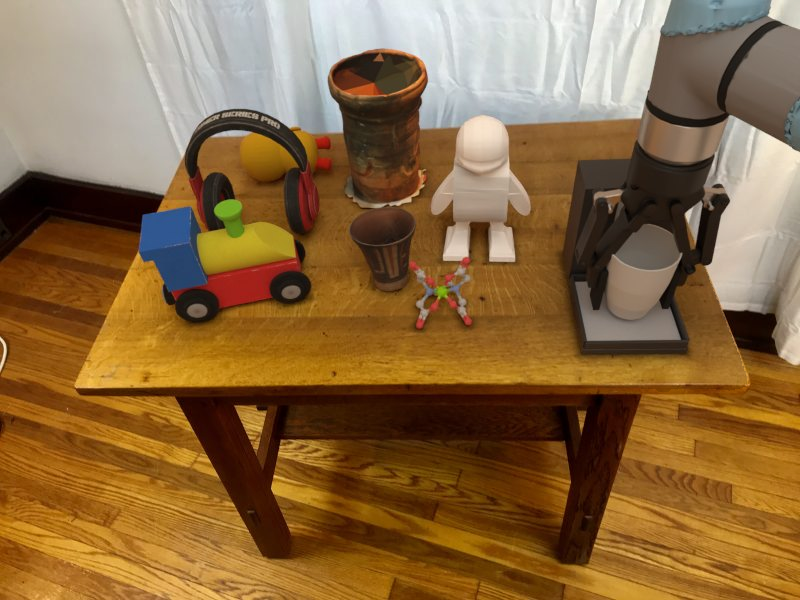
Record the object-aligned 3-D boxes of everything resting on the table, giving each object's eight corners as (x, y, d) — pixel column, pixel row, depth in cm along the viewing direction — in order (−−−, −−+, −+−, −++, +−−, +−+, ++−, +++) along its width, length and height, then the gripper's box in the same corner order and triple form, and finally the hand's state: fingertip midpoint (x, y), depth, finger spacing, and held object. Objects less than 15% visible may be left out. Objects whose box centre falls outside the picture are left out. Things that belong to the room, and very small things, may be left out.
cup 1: (389, 246, 92) (383, 191, 85) (432, 274, 87) (430, 219, 80) (344, 277, 88) (333, 223, 81) (387, 309, 84) (380, 255, 76)
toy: (332, 135, 108) (246, 139, 108) (327, 116, 100) (233, 121, 99) (334, 186, 107) (247, 190, 107) (329, 171, 99) (235, 175, 99)
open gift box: (686, 354, 75) (728, 258, 64) (581, 355, 76) (604, 261, 64) (651, 252, 87) (681, 156, 76) (562, 254, 88) (577, 160, 77)
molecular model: (411, 290, 86) (407, 251, 80) (468, 286, 85) (469, 246, 80) (413, 330, 81) (410, 291, 75) (474, 326, 80) (475, 286, 75)
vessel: (433, 210, 97) (429, 92, 82) (342, 215, 98) (322, 99, 83) (430, 157, 107) (426, 43, 92) (348, 161, 107) (330, 49, 93)
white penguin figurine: (430, 260, 89) (424, 140, 75) (434, 220, 95) (429, 101, 81) (528, 262, 88) (542, 139, 73) (525, 221, 94) (538, 100, 79)
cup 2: (675, 316, 76) (698, 257, 69) (618, 338, 75) (636, 280, 67) (634, 274, 82) (652, 215, 74) (581, 293, 80) (593, 235, 73)
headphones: (324, 205, 100) (301, 90, 85) (319, 247, 93) (293, 130, 78) (217, 211, 101) (176, 98, 86) (204, 253, 94) (157, 138, 79)
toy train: (171, 286, 89) (130, 204, 78) (308, 259, 91) (287, 175, 80) (168, 332, 83) (124, 251, 72) (315, 302, 85) (293, 218, 74)
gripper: (770, 120, 63) (704, 278, 79) (563, 127, 64) (541, 281, 81) (799, 164, 57) (722, 323, 74) (574, 171, 59) (548, 325, 76)
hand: (628, 301), depth 78 cm, fingers closed on cup 2, 8 cm apart
